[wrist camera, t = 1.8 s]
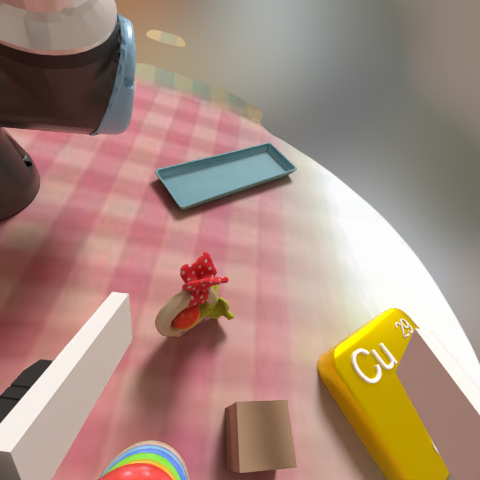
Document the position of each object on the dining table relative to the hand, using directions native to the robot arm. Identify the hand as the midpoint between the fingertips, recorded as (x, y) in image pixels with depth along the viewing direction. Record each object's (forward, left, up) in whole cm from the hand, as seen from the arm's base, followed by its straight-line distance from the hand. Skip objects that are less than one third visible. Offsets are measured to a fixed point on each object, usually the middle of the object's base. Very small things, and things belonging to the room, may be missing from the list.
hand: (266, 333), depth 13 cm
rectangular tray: (-8, +35, -22) cm, 42 cm away
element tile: (+22, +8, -22) cm, 32 cm away
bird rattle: (-4, +7, -21) cm, 23 cm away
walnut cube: (+6, -2, -21) cm, 22 cm away
